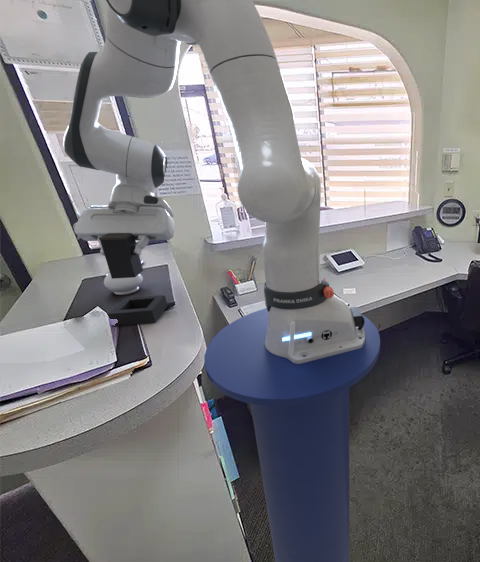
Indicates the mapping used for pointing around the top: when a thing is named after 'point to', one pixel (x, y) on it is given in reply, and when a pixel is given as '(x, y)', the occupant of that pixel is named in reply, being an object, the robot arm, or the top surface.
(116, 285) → the flower vase
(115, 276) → the black tall block
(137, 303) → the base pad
